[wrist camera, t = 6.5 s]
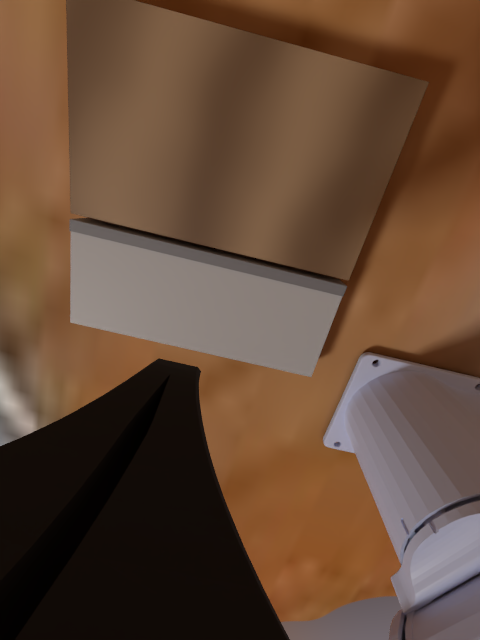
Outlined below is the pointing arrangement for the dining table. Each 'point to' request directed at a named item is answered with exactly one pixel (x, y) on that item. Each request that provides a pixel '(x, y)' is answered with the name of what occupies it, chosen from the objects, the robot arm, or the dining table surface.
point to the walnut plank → (229, 135)
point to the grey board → (199, 297)
